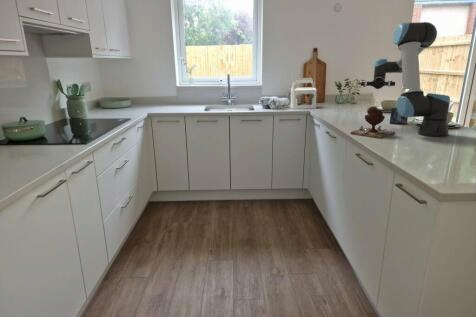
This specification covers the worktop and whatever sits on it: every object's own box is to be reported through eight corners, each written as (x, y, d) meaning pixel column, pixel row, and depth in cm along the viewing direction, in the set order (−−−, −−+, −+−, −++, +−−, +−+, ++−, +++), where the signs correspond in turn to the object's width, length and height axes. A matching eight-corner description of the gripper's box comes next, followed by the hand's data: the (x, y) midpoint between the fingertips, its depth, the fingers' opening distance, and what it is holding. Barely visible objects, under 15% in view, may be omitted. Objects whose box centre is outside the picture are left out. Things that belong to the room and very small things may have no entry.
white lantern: (292, 109, 300) (293, 78, 292) (290, 107, 313) (290, 77, 305) (316, 108, 301) (317, 77, 293) (312, 106, 313) (313, 77, 305)
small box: (389, 124, 219) (391, 108, 216) (389, 122, 225) (391, 107, 222) (407, 124, 215) (409, 109, 212) (406, 123, 221) (408, 107, 218)
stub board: (394, 133, 190) (395, 127, 189) (379, 138, 179) (380, 132, 178) (366, 129, 203) (366, 123, 202) (350, 133, 192) (351, 127, 191)
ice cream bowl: (374, 134, 184) (377, 108, 180) (359, 131, 193) (361, 106, 189) (387, 132, 188) (389, 106, 184) (371, 129, 198) (373, 104, 194)
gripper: (398, 88, 212) (398, 90, 194) (358, 88, 222) (355, 90, 204) (399, 77, 210) (400, 78, 192) (359, 77, 220) (356, 78, 202)
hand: (377, 84), depth 198 cm, fingers open, 13 cm apart
